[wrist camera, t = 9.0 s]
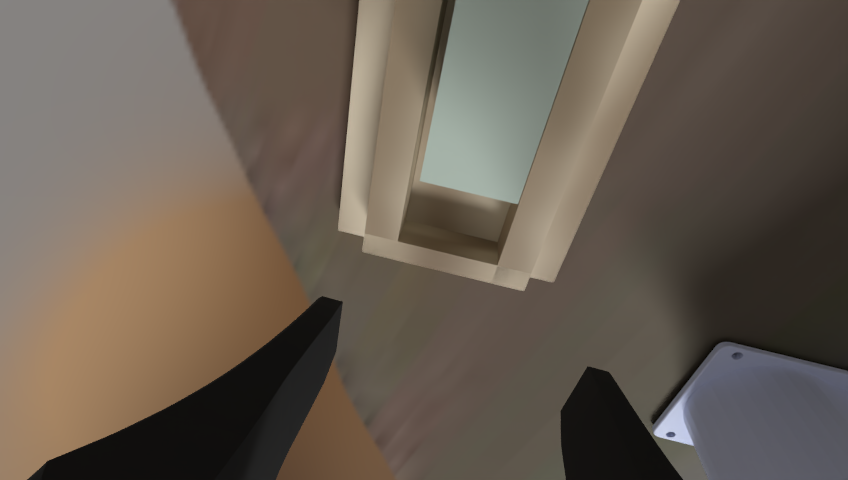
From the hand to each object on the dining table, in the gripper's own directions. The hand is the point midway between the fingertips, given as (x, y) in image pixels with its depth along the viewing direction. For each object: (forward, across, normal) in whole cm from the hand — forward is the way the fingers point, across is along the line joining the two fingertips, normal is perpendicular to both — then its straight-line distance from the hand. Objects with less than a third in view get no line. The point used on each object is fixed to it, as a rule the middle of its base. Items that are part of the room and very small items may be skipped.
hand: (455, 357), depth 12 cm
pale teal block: (+9, +1, -8) cm, 12 cm away
